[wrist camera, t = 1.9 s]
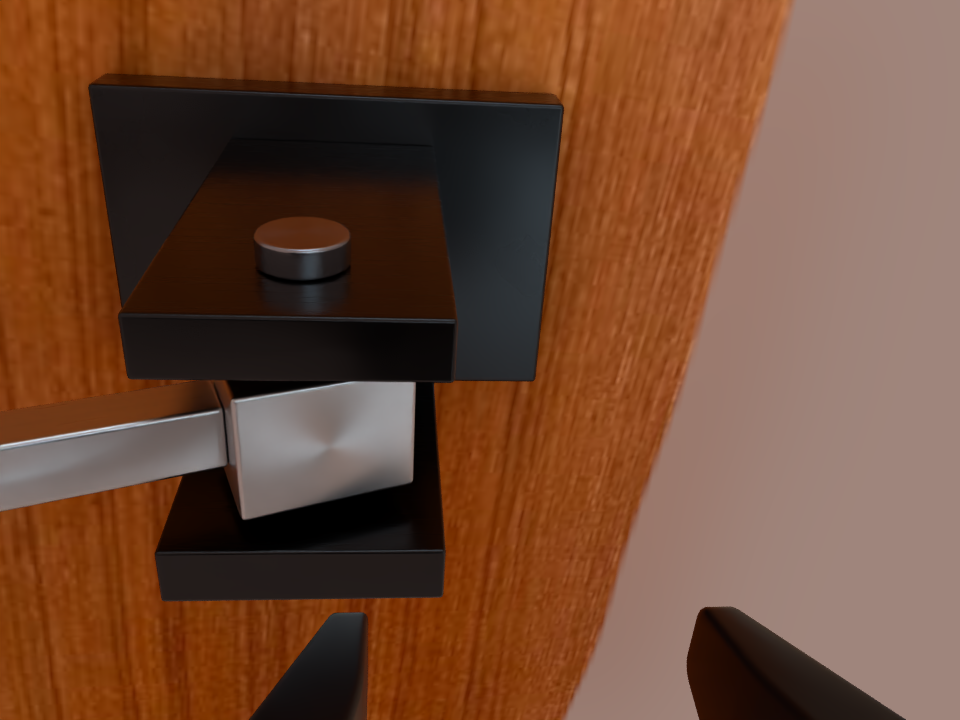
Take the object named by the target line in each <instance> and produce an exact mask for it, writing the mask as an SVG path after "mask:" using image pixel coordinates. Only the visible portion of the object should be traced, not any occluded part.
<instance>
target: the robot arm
mask: <svg viewBox="0 0 960 720" xmlns="http://www.w3.org/2000/svg"><path fill="white" fill-rule="evenodd" d="M687 675H688V680H689V684H690V688H691V692H692V695H693V699H694V702H695V706H696V709H697V713H698V717H699V720H906V719H904V718H902V717H901V716H899V715H898V714H896V713H895V712H893V711H892V710H890V709H889V708H887V707H886V706H884V705H882V704H881V703H880V702H878V701H877V700H875V699H874V698H872V697H871V696H869V695H868V694H866V693H864V692H863V691H861V690H860V689H858V688H857V687H855V686H854V685H852V684H851V683H849V682H848V681H846V680H845V679H843V678H842V677H840V676H839V675H837V674H836V673H834V672H833V671H831V670H830V669H828V668H826V667H825V666H824V665H822V664H820V663H819V662H817V661H816V660H814V659H813V658H811V657H809V656H808V655H807V654H805V653H804V652H802V651H801V650H799V649H798V648H796V647H795V646H793V645H791V644H790V643H788V642H787V641H785V640H784V639H782V638H781V637H779V636H778V635H776V634H775V633H773V632H772V631H770V630H769V629H767V628H766V627H764V626H763V625H761V624H760V623H758V622H757V621H755V620H754V619H752V618H751V617H749V616H748V615H746V614H745V613H743V612H741V611H740V610H738V609H736V608H734V607H705V608H703V609H701V610H700V612H699V613H698V616H697V619H696V624H695V627H694V631H693V636H692V639H691V643H690V647H689V651H688V656H687ZM367 687H368V618H367V616H366V614H364V613H334V614H332V615H331V616H330V617H329V618H328V619H327V620H326V622H325V623H324V624H323V625H322V627H321V628H320V629H319V631H318V632H317V633H316V634H315V636H314V637H313V638H312V640H311V641H310V642H309V643H308V645H307V646H306V647H305V649H304V650H303V651H302V652H301V654H300V655H299V656H298V658H297V659H296V660H295V661H294V663H293V664H292V665H291V666H290V668H289V669H288V670H287V672H286V673H285V674H284V675H283V677H282V678H281V679H280V681H279V682H278V683H277V684H276V686H275V687H274V688H273V690H272V691H271V692H270V693H269V695H268V696H267V697H266V699H265V700H264V701H263V702H262V704H261V705H260V706H259V708H258V709H257V710H256V711H255V713H254V714H253V715H252V717H251V718H250V719H249V720H367Z"/></svg>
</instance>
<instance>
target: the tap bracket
mask: <svg viewBox="0 0 960 720" xmlns="http://www.w3.org/2000/svg"><path fill="white" fill-rule="evenodd" d="M88 89H89V96H90V103H91V109H92V116H93V122H94V129H95V136H96V142H97V149H98V155H99V162H100V168H101V175H102V182H103V188H104V195H105V201H106V208H107V214H108V221H109V228H110V234H111V241H112V247H113V254H114V260H115V267H116V274H117V280H118V287H119V293H120V300H121V306H122V309H121V310H120V312H119V314H118V320H119V327H120V333H121V339H122V346H123V352H124V359H125V365H126V372H127V376H128V378H129V379H155V380H245V381H335V382H416V395H415V429H414V462H413V481H412V483H411V484H408V485H403V486H399V487H394V488H390V489H385V490H381V491H376V492H372V493H367V494H363V495H358V496H354V497H350V498H345V499H341V500H336V501H332V502H327V503H323V504H318V505H314V506H309V507H305V508H300V509H296V510H291V511H287V512H282V513H278V514H273V515H269V516H264V517H260V518H255V519H251V520H243V519H242V518H241V517H240V515H239V512H238V509H237V506H236V503H235V500H234V497H233V494H232V491H231V488H230V485H229V482H228V479H227V476H226V473H225V470H224V468H219V469H213V470H208V471H203V472H198V473H193V474H188V475H183V476H182V479H181V482H180V485H179V487H178V490H177V493H176V496H175V499H174V501H173V504H172V507H171V510H170V513H169V515H168V518H167V521H166V524H165V526H164V529H163V532H162V535H161V538H160V540H159V543H158V546H157V549H156V551H155V560H156V566H157V573H158V579H159V586H160V592H161V598H162V600H163V601H220V600H290V599H361V598H431V597H442V595H443V589H444V571H445V553H446V550H445V536H444V522H443V508H442V494H441V480H440V466H439V452H438V437H437V423H436V409H435V395H434V383H451V382H453V381H534V380H535V377H536V367H537V358H538V349H539V339H540V330H541V321H542V311H543V302H544V292H545V283H546V274H547V264H548V255H549V245H550V236H551V227H552V217H553V208H554V199H555V189H556V180H557V170H558V161H559V152H560V142H561V133H562V123H563V114H564V107H563V105H562V103H561V102H560V100H559V99H558V98H557V96H556V95H554V94H543V93H521V92H499V91H477V90H455V89H434V88H412V87H390V86H368V85H346V84H324V83H302V82H280V81H258V80H236V79H215V78H193V77H171V76H149V75H127V74H104V75H102V76H101V77H99V78H98V79H96V80H95V81H93V82H92V83H91V84H89V87H88Z"/></svg>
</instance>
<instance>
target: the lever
mask: <svg viewBox="0 0 960 720" xmlns="http://www.w3.org/2000/svg"><path fill="white" fill-rule="evenodd" d="M415 395H416V382H335V381H245V380H199V381H192V382H186V383H179V384H173V385H167V386H160V387H154V388H148V389H141V390H135V391H128V392H122V393H116V394H109V395H103V396H97V397H90V398H84V399H77V400H71V401H65V402H58V403H52V404H46V405H39V406H33V407H26V408H20V409H14V410H7V411H1V412H0V511H6V510H11V509H16V508H21V507H26V506H31V505H36V504H41V503H46V502H51V501H56V500H61V499H66V498H71V497H77V496H82V495H87V494H92V493H97V492H102V491H107V490H112V489H117V488H122V487H127V486H132V485H137V484H142V483H148V482H153V481H158V480H163V479H168V478H173V477H178V476H183V475H188V474H193V473H198V472H203V471H208V470H213V469H219V468H224V470H225V473H226V476H227V479H228V482H229V485H230V488H231V491H232V494H233V497H234V500H235V503H236V506H237V509H238V512H239V515H240V517H241V518H242V519H243V520H251V519H255V518H260V517H264V516H269V515H273V514H278V513H282V512H287V511H291V510H296V509H300V508H305V507H309V506H314V505H318V504H323V503H327V502H332V501H336V500H341V499H345V498H350V497H354V496H358V495H363V494H367V493H372V492H376V491H381V490H385V489H390V488H394V487H399V486H403V485H408V484H411V483H412V481H413V462H414V429H415Z"/></svg>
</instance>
